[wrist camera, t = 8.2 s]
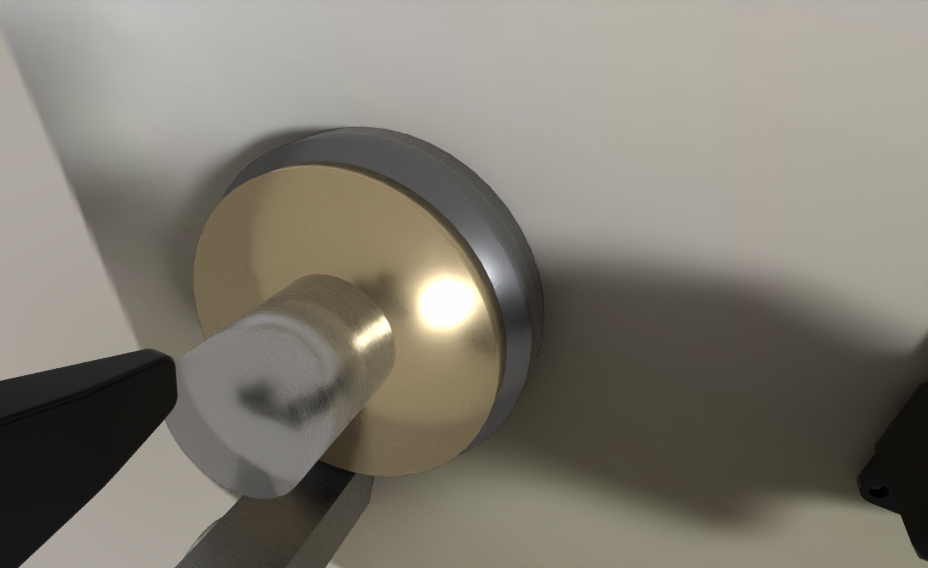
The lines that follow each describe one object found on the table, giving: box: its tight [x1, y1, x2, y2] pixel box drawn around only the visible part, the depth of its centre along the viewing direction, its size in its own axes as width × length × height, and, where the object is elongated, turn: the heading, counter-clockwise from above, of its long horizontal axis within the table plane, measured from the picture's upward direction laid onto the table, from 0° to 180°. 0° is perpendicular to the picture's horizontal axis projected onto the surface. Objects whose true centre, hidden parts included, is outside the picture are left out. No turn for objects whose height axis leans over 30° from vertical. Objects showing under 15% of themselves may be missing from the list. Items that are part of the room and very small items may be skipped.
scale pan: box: [193, 161, 507, 477], centre depth 20 cm, size 11×11×1 cm
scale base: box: [175, 127, 544, 568], centre depth 20 cm, size 12×17×9 cm
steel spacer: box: [165, 274, 395, 499], centre depth 17 cm, size 4×4×5 cm
